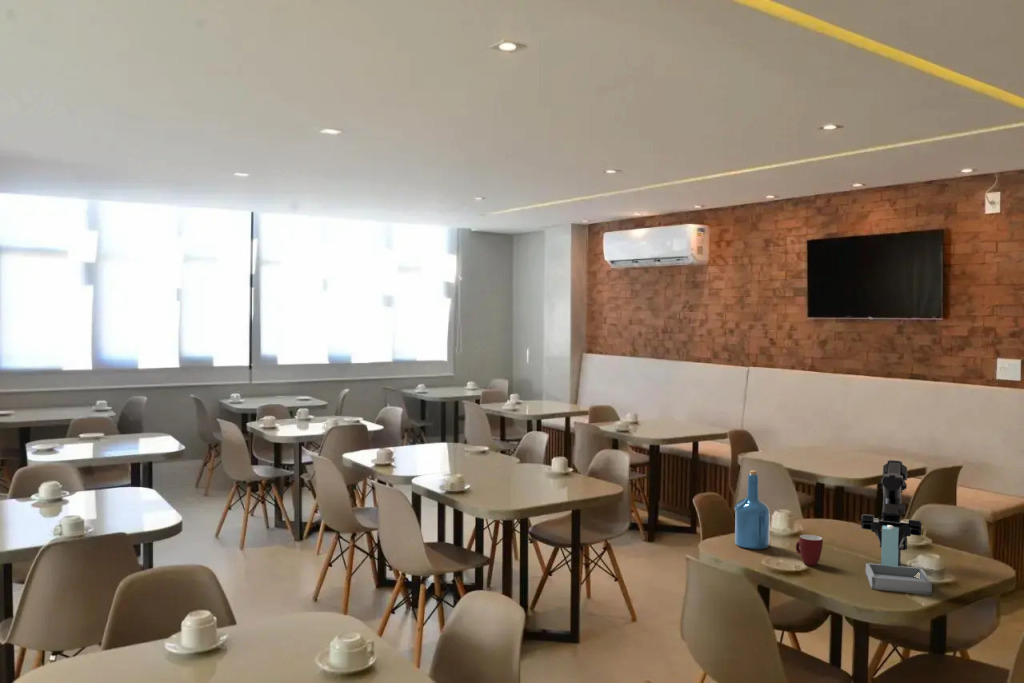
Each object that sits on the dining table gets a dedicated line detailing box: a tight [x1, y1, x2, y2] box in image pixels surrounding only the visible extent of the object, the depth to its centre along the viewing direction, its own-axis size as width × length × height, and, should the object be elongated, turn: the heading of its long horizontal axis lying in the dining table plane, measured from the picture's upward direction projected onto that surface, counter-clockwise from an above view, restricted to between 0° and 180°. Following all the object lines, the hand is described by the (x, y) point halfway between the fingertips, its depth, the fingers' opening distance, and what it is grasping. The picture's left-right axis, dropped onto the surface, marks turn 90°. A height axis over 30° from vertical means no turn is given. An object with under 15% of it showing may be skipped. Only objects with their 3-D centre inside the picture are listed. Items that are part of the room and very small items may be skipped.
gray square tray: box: [864, 562, 933, 596], centre depth 269 cm, size 17×18×4 cm
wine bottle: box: [734, 470, 771, 550], centre depth 315 cm, size 14×13×30 cm
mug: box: [795, 534, 824, 567], centre depth 292 cm, size 11×8×10 cm
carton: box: [880, 525, 899, 567], centre depth 269 cm, size 5×5×14 cm
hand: (889, 546), depth 268 cm, fingers closed on carton, 5 cm apart
